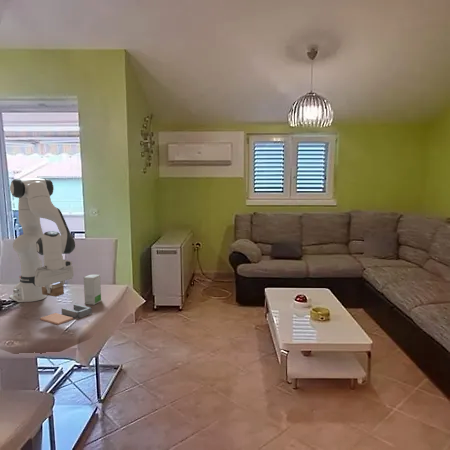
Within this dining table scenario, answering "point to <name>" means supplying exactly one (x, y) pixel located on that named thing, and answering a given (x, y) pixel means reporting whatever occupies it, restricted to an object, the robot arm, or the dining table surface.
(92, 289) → the skincare box
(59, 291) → the walnut block
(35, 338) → the dining table surface
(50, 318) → the rubber pad
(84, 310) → the frame
